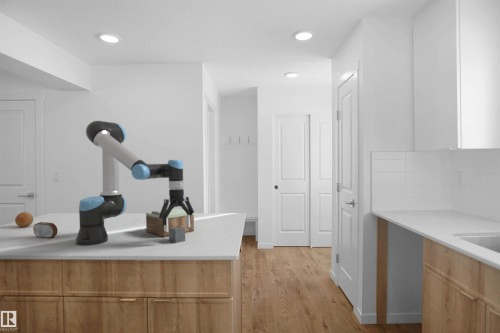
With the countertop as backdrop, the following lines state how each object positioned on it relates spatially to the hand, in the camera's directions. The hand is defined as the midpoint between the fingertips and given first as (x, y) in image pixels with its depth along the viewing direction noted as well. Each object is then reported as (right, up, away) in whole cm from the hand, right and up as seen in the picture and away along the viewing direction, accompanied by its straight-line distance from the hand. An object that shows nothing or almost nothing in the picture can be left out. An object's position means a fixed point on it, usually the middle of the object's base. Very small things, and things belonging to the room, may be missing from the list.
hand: (177, 229), depth 164 cm
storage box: (-10, -6, +22) cm, 25 cm away
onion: (-111, -7, +41) cm, 119 cm away
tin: (-78, -7, +12) cm, 79 cm away
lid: (-10, +4, +22) cm, 25 cm away
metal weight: (0, -6, 0) cm, 6 cm away
